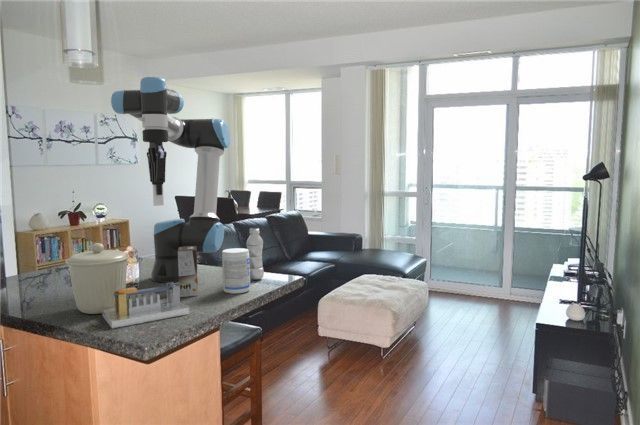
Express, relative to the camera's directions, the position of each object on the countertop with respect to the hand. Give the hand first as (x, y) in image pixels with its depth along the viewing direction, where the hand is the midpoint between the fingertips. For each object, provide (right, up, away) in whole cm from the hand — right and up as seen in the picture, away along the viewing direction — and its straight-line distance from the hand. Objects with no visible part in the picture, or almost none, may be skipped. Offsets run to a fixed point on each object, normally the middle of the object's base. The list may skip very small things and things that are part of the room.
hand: (158, 205), depth 153 cm
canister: (-18, -33, +1) cm, 38 cm away
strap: (-2, -27, -6) cm, 27 cm away
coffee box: (+5, -31, +18) cm, 36 cm away
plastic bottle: (+25, -29, +37) cm, 53 cm away
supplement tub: (+21, -30, +21) cm, 43 cm away
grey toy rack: (-2, -33, -5) cm, 34 cm away
